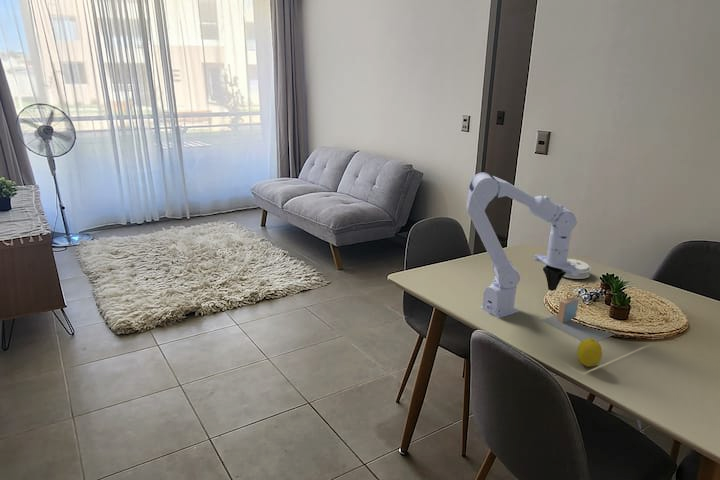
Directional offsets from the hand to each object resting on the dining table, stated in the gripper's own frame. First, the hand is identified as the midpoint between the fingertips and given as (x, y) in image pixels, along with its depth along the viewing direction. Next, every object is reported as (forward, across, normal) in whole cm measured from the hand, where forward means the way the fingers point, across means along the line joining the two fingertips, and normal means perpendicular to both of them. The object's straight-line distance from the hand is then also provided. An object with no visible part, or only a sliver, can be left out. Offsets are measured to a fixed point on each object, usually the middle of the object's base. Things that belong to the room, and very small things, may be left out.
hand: (552, 289), depth 142 cm
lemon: (+8, -25, +16) cm, 31 cm away
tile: (+7, -6, 0) cm, 10 cm away
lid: (+8, +17, -33) cm, 38 cm away
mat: (+8, -11, +1) cm, 13 cm away
